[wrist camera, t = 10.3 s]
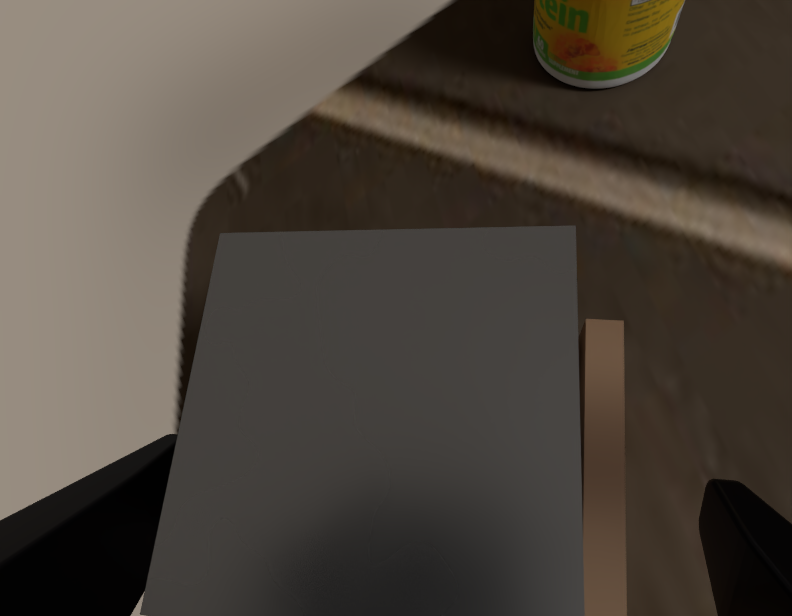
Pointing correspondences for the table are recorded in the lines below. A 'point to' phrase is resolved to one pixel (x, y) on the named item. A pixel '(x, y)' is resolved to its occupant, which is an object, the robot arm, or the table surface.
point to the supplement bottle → (602, 38)
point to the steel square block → (380, 429)
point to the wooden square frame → (603, 466)
